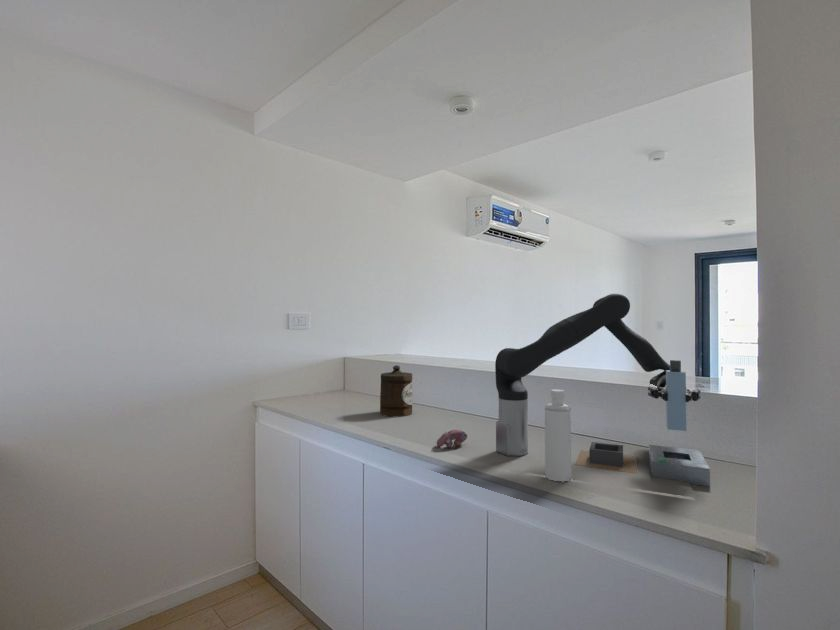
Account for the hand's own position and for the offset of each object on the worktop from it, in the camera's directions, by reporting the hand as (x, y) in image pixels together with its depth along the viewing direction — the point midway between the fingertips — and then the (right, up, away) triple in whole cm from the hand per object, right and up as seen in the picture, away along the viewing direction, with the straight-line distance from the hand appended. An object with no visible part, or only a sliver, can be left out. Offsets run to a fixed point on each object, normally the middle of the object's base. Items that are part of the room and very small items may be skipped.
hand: (676, 397), depth 119 cm
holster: (-15, -21, +10) cm, 28 cm away
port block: (+1, -21, +2) cm, 21 cm away
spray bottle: (-34, -21, -3) cm, 40 cm away
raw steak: (-60, -22, +27) cm, 69 cm away
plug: (+1, -9, +2) cm, 9 cm away
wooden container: (-82, -23, +81) cm, 117 cm away
